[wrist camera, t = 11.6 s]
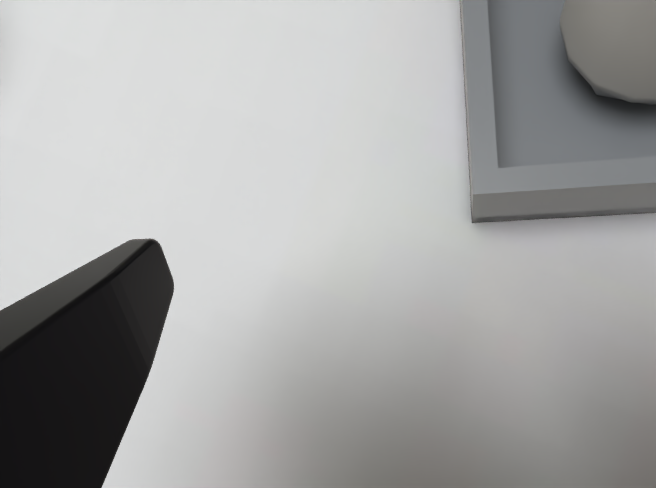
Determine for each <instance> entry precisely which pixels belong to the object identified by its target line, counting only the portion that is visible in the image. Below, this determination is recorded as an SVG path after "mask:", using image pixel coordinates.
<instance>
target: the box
mask: <svg viewBox="0 0 656 488" xmlns="http://www.w3.org/2000/svg"><path fill="white" fill-rule="evenodd" d="M564 3H565V0H460V12H461V31H462V49H463V67H464V86H465V104H466V123H467V141H468V160H469V178H470V196H471V215H472V223H476V222H494V221H512V220H530V219H548V218H566V217H584V216H602V215H620V214H638V213H656V105H648V104H642V103H630V102H627V101H625V100H621V99H615V98H610V97H604V96H599V95H596V94H595V92H594V90H593V88H592V86H591V85H590V84H589V83H588V82H587V81H586V80H585V78H584V77H583V76H582V75H581V74H580V73H579V72H578V71H577V70H576V68H575V67H574V66H573V65H572V64H571V63H570V62H569V61H568V57H567V54H566V50H565V46H564V42H563V38H562V34H561V30H560V17H561V13H562V10H563V6H564Z"/></svg>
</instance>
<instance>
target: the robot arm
mask: <svg viewBox="0 0 656 488" xmlns="http://www.w3.org/2000/svg"><path fill="white" fill-rule="evenodd" d="M173 291H174V282H173V278H172V275H171V272H170V269H169V267H168V264H167V261H166V259H165V256H164V253H163V250H162V248H161V246H160V244H159V243H158V241H156V240H154V239H133V240H129V241H127V242H125V243H124V244H122V245H120V246H118V247H116V248H114V249H113V250H111V251H109V252H107V253H105V254H103V255H102V256H100V257H98V258H96V259H94V260H92V261H91V262H89V263H87V264H85V265H83V266H81V267H80V268H78V269H76V270H74V271H72V272H70V273H69V274H67V275H65V276H63V277H61V278H59V279H58V280H56V281H54V282H52V283H50V284H48V285H47V286H45V287H43V288H41V289H39V290H37V291H36V292H34V293H32V294H30V295H28V296H26V297H25V298H23V299H21V300H19V301H17V302H15V303H14V304H12V305H10V306H8V307H6V308H4V309H3V310H1V311H0V488H102V485H103V483H104V481H105V478H106V476H107V473H108V471H109V469H110V466H111V464H112V462H113V459H114V457H115V454H116V452H117V450H118V447H119V445H120V443H121V440H122V438H123V435H124V433H125V431H126V428H127V426H128V423H129V421H130V419H131V416H132V414H133V412H134V409H135V407H136V404H137V402H138V400H139V397H140V395H141V393H142V390H143V388H144V385H145V383H146V380H147V378H148V375H149V372H150V370H151V367H152V364H153V361H154V357H155V354H156V351H157V347H158V344H159V340H160V337H161V334H162V330H163V327H164V323H165V320H166V317H167V313H168V310H169V306H170V303H171V300H172V296H173Z"/></svg>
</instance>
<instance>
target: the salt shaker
mask: <svg viewBox="0 0 656 488" xmlns="http://www.w3.org/2000/svg"><path fill="white" fill-rule="evenodd" d="M560 30H561V34H562V38H563V42H564V46H565V50H566V54H567V57H568V61H569V62H570V63H571V64H572V65H573V66H574V67H575V68H576V70H577V71H578V72H579V73H580V74H581V75H582V76H583V77H584V78H585V80H586V81H587V82H588V83H589V84H590V85H591V86H592V88H593V90H594V92H595V94H596V95H599V96H604V97H610V98H615V99H621V100H625V101H627V102H630V103H642V104H648V105H656V0H565V3H564V6H563V10H562V13H561V17H560Z"/></svg>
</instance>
